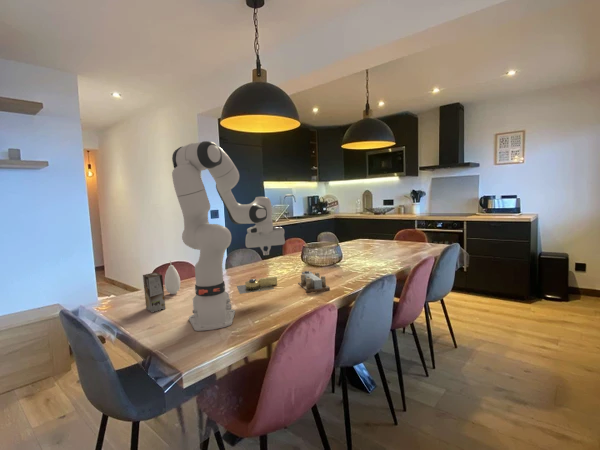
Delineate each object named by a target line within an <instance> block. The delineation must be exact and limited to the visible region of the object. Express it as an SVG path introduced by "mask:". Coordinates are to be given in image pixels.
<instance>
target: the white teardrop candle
mask: <svg viewBox="0 0 600 450" xmlns="http://www.w3.org/2000/svg"><path fill="white" fill-rule="evenodd" d="M164 287H165V290H166V292H167V293H169V294H170V295H176V294H177V293H178V292H179V291H180V288H181V278H180V273H178V270H177V269H176V267H175V266H174V265H172V261H171V260H170V265H168V268H167V269H166V271H165V276H164Z"/></svg>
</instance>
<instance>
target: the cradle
mask: <svg viewBox="0 0 600 450" xmlns="http://www.w3.org/2000/svg"><path fill="white" fill-rule="evenodd" d="M314 275H315V276H317V277H318V278H320V279H322V288H321V289H313V288H312V287H311V278H305V274H302V273H301V274H300V282H297V284H298V285H299V286H300V287H301V288H302V289H304V290H305V293H306V294H313V293H320V292H327V291H330V290H331V289H330V286H329V285H327V283H326V282H327V281H326V280H327V279H326V275H321V276H320V272H314Z"/></svg>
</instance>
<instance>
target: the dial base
mask: <svg viewBox="0 0 600 450" xmlns="http://www.w3.org/2000/svg"><path fill="white" fill-rule="evenodd" d="M236 287H237V288H236V289H237V291H238V293H239V294H240V295H241V294H249V293H256V292H263V291H270V290H275V288H274V285H270V286H262V287H260V288H257V289H246V287H245V284H240V285H236Z"/></svg>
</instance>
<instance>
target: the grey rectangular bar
mask: <svg viewBox="0 0 600 450" xmlns="http://www.w3.org/2000/svg"><path fill="white" fill-rule="evenodd" d="M301 274H305V278H311V287H312V288H313V289H321V288H322V279H321V277H320V278H318V277H317V276H315V273H313V272H312V271H309V270H305V271H303V272H301Z"/></svg>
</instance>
